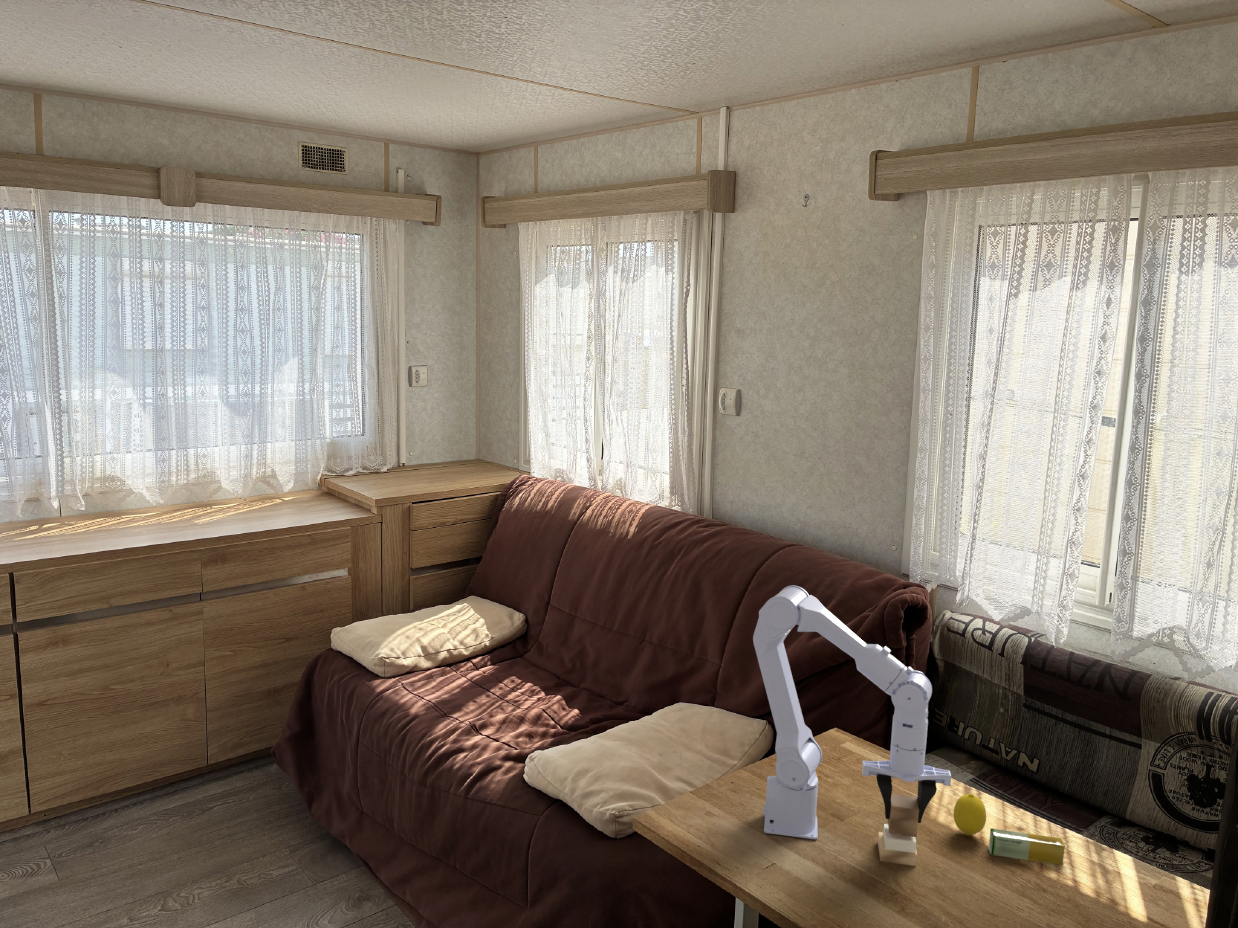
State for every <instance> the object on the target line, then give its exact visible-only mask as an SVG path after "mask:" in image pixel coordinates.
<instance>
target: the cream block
mask: <svg viewBox="0 0 1238 928" xmlns="http://www.w3.org/2000/svg"><path fill="white" fill-rule="evenodd" d="M882 832H883V837H884V844H885V849H888V850H895V851H903V852H910V853H916V851H917V839H916V838H917V837H911V836H905V835H898V834H892V833H889V828H888V823H884V824H883V831H882Z"/></svg>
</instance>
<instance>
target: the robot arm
mask: <svg viewBox="0 0 1238 928" xmlns="http://www.w3.org/2000/svg"><path fill="white" fill-rule="evenodd" d="M796 625H797V626H798V627H797V632H798V633H810V632H811V633H813V632H815V633H818V634H820V636H822V637H823V638H825V639H826V640H827V641H829V642H830V643H832V644H833V645H835V646H836V647H837V648H839V649H840V650H841V651H842V652H844V653H846V654H847V655H849V656H850V657H851V658H853V659H854V661H855V665H856V670H857V671H858V672H859V673H861V674H862V675H863V676H864V677H865V678H867V679H868V680H869V681H871V682H872V683H873V684H874V685H876V686H877V687H878V688H879V689H880V690H882V691H883V692H884V693H885V694H887V695H889V696H890V698H891V699H890V700H891V702H892V704H893V706H894V711H893V712H894V714H893V715H892V726H891V738H890V739H891V740H890V752H889V760H862V767H861V772H862V773H861V774H862V776H863V777H870V776H874V777H876V778H875V779H876V782H877V787H878V789H879V792H880V794H881V797H882V800H883V804H884V815H885V819H886V820H888V819H890V811H891V795H892V794H893V783H892V781H893V779H900V780H902V782H906V783H915V782H916V781H917V796H916V797H917V801H918V807H919V816H918V824H921V823H922V819H923V816H924V813H925V811H926V809H927V807H928V805H929V803H930V801H931V800H932V799H933V798H934V796H935V795H936V793H937V789H938V788H937V784H942V785H944V786H946V787H951V785H952V784H951V783H952V774H951V771H950V770H947V769H942V768H937V767H934V766H930V765H925V760H926V749H927V738H928V726H929V719H928V717H929V702H930V699H931V697H932V694H933V685H932V683H931V681H930V679H929V678H928V677H927V676H926V675H925V673H924V672H922V671H919V670H915V669H913V668H912V666H906V665H905V664H904V663H902V662H901V661H900V660H899V659H897V658H896V657H895V656H894V655H892V654H891V652H892V650H891V649H890V648H889V647H888V646H887V645H885V646H884V647H883V646H881V645H879V644H878V643H876V644H875V643H874V644H873V643H867V642H865V641H864V640H862V639H861V637H859V636H858V635H857V634H856V633H855V632H853V631H852V630H851V629H850V628H849V627H848V626H847V625H846V624H845V623H843V622H842V621H841V620H840V619H839V618H838V617H837V616H836V615H834V614H833V613H832V612H831V611H830V610H828V609H827V608H826V606H824V605H823V604H822V603H821V602H820V600H819V599H818V598H817V597H815V596H814V595H812V594H810V595H809V593H808V591H806V589H804V588H803V587H801V586H798V585H794V584H792V585H788V586H786V587H784V588H782V589H781V590H780V591H779V593H776V595H774V596H773V597H771V598H769V599H768V600H767V601H766V602H765V603H764V605H763V606H762V607H761V608H760V609H759V611H758V619H757V623H756V626H755V629H754V632H753V636H752V641H753V647H754V650H755V654H756V658H757V662H758V665H759V669H760V672H761V676H762V681H763V685H764V688H765V692H766V695H767V700H768V704H769V708H770V711H771V715H772V718H773V723H774V727H775V730H776V741H775V747H774V748H775V749H774V750H775V755H776V763H775V768H774V769H775V774H776V775H773V776H769V775H768V776H767V780H766V794H765V805H763V812H762V813H763V814H762V816H763V817H764V828H763V832H764V833H765V834H770V835H779V836H785V837H795V838H802V839H809V840H818V837H819V834H818V830H819V829H818V827H819V826H818V817H817V807H818V806H817V805H818V792H819V791H818V789H819V778H818V775H817V772H816V769H817V768H818V767H819V766H820V764H821V763H822V760H823V752H822V748H821V746H820V745H819V744H818V743H817V741H816V740H815V738H814V736H813V733H812V730H811V729H810V728H809V727H808V726H807V725H806V723H805V721H804V716H803V713H802V708H801V705H800V702H799V701H800V700H799V698H798V697H799V696H798V693H797V690H796V685H795V682H794V678H793V675H792V670H791V666H790V662H789V659H788V654H787V652H786V648H785V644H784V641H785V639H786V638H787V636H788V635H789V634H790V632H791V631H792V630H793V628H794V627H795V626H796ZM892 778H893V779H892Z"/></svg>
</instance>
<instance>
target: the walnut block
mask: <svg viewBox="0 0 1238 928" xmlns="http://www.w3.org/2000/svg"><path fill="white" fill-rule="evenodd" d="M917 797H918V796H911V795H910V796H909V795H904V794H898V793H892V795H891V811H890V819H887V824H888V828H889V833H892V834H898V835H905V836H911V837H915V838H917V835H918V826H919V825H918V824H919V823H918V816H919V807H918V801H917Z"/></svg>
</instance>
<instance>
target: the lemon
mask: <svg viewBox="0 0 1238 928" xmlns="http://www.w3.org/2000/svg"><path fill="white" fill-rule="evenodd" d="M985 806H986V805H985V804H984V802H983V801H982V800H981V799H980V798H979V797H978V796H976V795H975V794H974V793H968V794H967V793H966V794H964V795H961V796H960V797H959V798H958V799H957V800H956V802H955V804H954V808H953V821H954V823H955V826H956V827H957V828H958V829H959V831H961V832H963V834H965V835H966V836H968V837H969V836H972V835H976V834H978V833H980V832H981V831H982V830H983V829H984V828H985V824H986V822H987V810H986V807H985Z"/></svg>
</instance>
